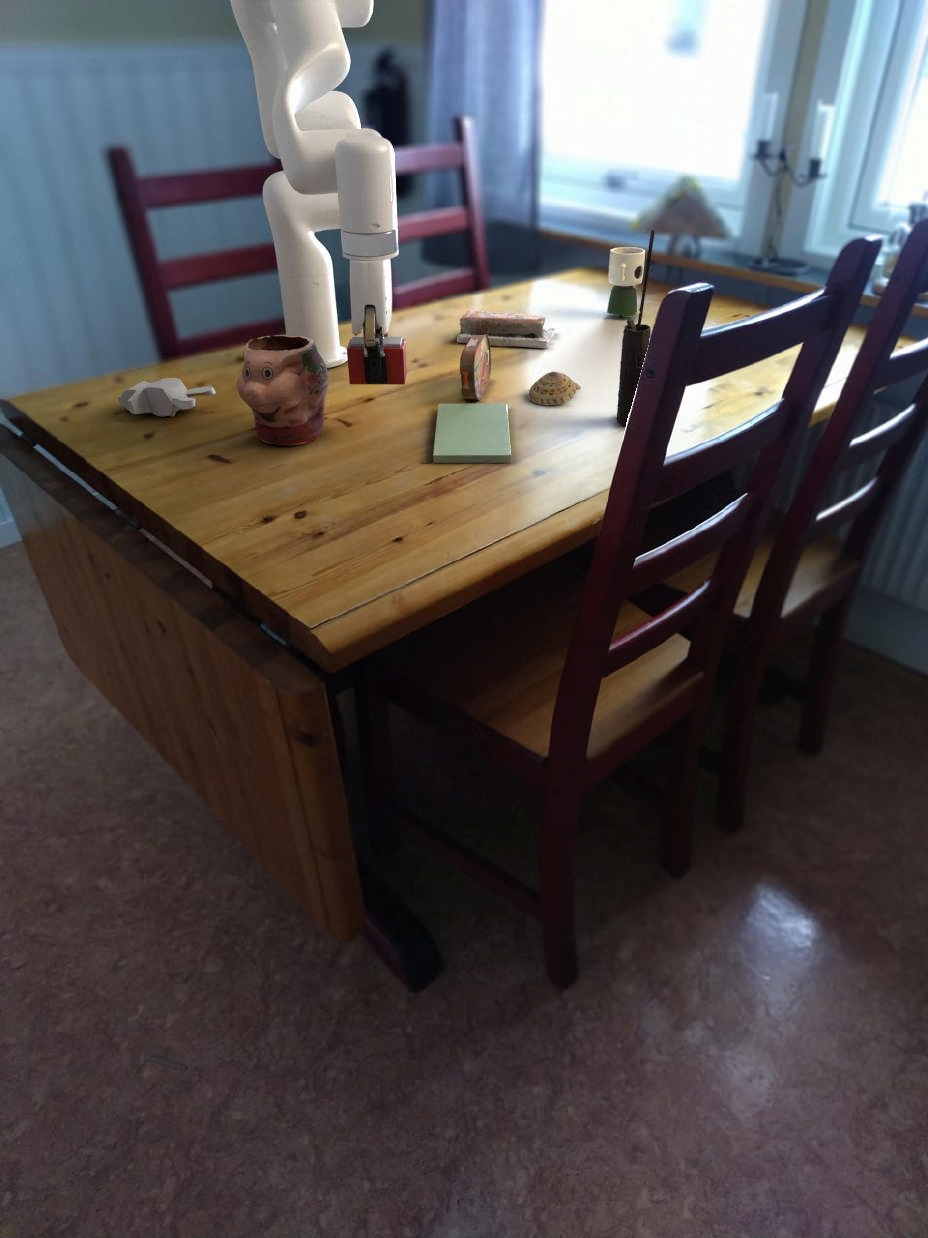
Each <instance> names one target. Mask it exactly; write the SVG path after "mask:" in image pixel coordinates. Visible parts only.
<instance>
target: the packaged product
mask: <svg viewBox="0 0 928 1238" xmlns="http://www.w3.org/2000/svg"><path fill="white" fill-rule="evenodd" d="M545 322H546V316H543V315H536V314H524V313H515V312H513V313H512V312H499V311H498V312H497V311H488V310H487V311H484V310H467V311H466V312H465V313H464V314H463V315H462V316H461V318H460V319H459V326H460V329H459V333H457V336H456V342H457V343H459V344H460V343H462V344H467V343H468V341H469V339H470V338H471V337H472V336H474V335H485V334H487V335H488V337H489V341H490V346H495V347H522V348H523V347H524V348H533V349H534V348H535V349H547V347H548V345H549V344H550V342H551V341H552V339H553V337H554V336H555V335H554V334H555V330H556V328H555V327H554V328H553V327H550V328H546V327H544V326H545Z"/></svg>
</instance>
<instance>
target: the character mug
mask: <svg viewBox="0 0 928 1238" xmlns="http://www.w3.org/2000/svg"><path fill="white" fill-rule="evenodd" d="M645 257H646V250H645V249H644V248H639V247H635V246H633V247H631V246H619V247H614V248H611V249H610V250H609V263H608V275H607V282H608V283H609V284H611V285H613V286H612V288H611V290H610V294H609V299H608V304H607V310H606V313H607V314H609V315H612V316H613V315H614V316H618V317H619V318H622V317H625V318H628V317H634V316H636V315H637V314H638V291H637V288H636V287H637V286H638V285H641V284H642V282H643V280H644V278H643V277H644V270H645V269H644V267H645V259H646V258H645Z"/></svg>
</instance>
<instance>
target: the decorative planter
mask: <svg viewBox="0 0 928 1238" xmlns="http://www.w3.org/2000/svg"><path fill="white" fill-rule="evenodd" d="M242 356H243V367H242V369H241V371H240V373H239V374H238V376H237V380H236V388H237V389H236V390H237V392H238V394H239V397H240V398H241V400H242V401H243V402H244V403H245V404H246V405H247V406H248V407H249V408H250V409H251V412H252V414H253V419H254V425H255V427H254V428H255V434H256V437H257V438H258V439H259V440H260V441H262V442H264V443H267V444H272V445H278V446H279V445H280V446H297V445H303V444H307V443H309V442H312V441H313V440H315V439H317V438H318V437H319V436H320V435H321V433H322V431H323V428H324V422H325V412H326V411H325V407H326V399H327V393H328V389H329V381H330V379H329V377H330V376H329V371H328V368H327V367H326V365H325V362H324V360H323V359H322V357H321V356H320V354H319V352H318V350H317V348H316V345H315V343H314V341H313V340H312V339H310V338H307V337H302V336H291V335H286V334H277V335H266V336H261V337H256V338H250V339H249V340H248V342H247V343H246V344H245V346H244V348H242Z"/></svg>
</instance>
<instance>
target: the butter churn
mask: <svg viewBox="0 0 928 1238" xmlns="http://www.w3.org/2000/svg"><path fill="white" fill-rule="evenodd" d="M654 239H655V230H654V229H651V230H650V234H649V241H648V249H647V254H646V255H647V256H646V263H645V269H644V270H645V271H644V278H643V286H642V291H641V298H640V303H639V309H638V311H639V313H638V318H637V323H635V319H633V318H628V319H627V320H626V323H627V324H625V325H624V326H623V331H622V339H621V351H620V352H621V354H620V362H619V363H620V365H619V366H620V367H619V383H618V385H619V386H618V391H617V406H616V407H617V409H616V423H617V425H619V426H621V427H624V428H626V427H625V426H626V422H627V418H628V414H629V412H630V409H631V406H632V402H633V398H634V395H635V391H636V388H637V384H638V381H639V377H640V373H641V370H642V365H643V362H644V358H645V354H646V352H647V348H648V345H649V338H650V335H651V336H652V334H651V329H652V328H651V326H650V325H648V324H644V323H643V324H642V320H643V319H642V318H643V313H644V305H645V299H646V292H647V285H648V280H649V272H650V267H651V259H652V252H653V247H654Z"/></svg>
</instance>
